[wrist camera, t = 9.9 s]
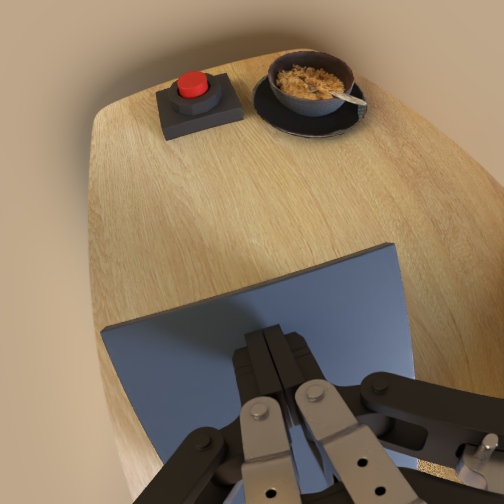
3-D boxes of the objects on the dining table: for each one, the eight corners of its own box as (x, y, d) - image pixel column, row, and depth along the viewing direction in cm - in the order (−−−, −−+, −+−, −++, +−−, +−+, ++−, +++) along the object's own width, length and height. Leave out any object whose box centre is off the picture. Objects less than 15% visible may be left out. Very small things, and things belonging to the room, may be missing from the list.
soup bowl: (347, 72, 42) (354, 33, 35) (380, 149, 36) (397, 107, 29) (248, 73, 42) (245, 32, 35) (258, 154, 36) (256, 108, 29)
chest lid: (104, 326, 13) (98, 331, 13) (386, 241, 14) (395, 242, 14) (215, 531, 15) (215, 540, 14) (411, 468, 16) (417, 474, 15)
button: (182, 102, 36) (179, 91, 34) (178, 85, 37) (175, 75, 35) (211, 94, 36) (209, 83, 34) (205, 78, 37) (203, 68, 36)
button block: (166, 141, 38) (157, 119, 34) (159, 103, 41) (152, 82, 37) (243, 119, 39) (241, 96, 35) (227, 84, 42) (225, 62, 38)
